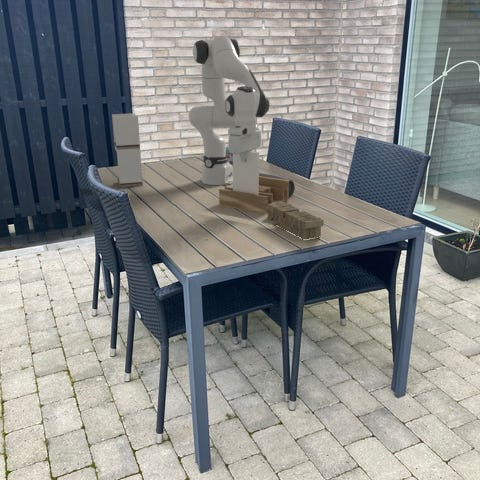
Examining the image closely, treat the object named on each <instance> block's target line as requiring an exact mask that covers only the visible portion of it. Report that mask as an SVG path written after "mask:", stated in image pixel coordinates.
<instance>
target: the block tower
mask: <svg viewBox="0 0 480 480" xmlns="http://www.w3.org/2000/svg"><path fill="white" fill-rule="evenodd" d="M267 218H268V219H269V220H272V221H273V222H274V224H275V225H278V226H279V227H281V228H283V229H285V230H287V231H289V232H291V233H293V234H295V235H296V236H299V237H301V238H302V239H309V238H314V237H319V236H321V233H322V232H321V231H322V227H324V224H325V223H324V222H325V221H324V219H322V217H321V218H320V217H318V216H315V215H313V214H311V213H309V212H307V211H305V210H302V211H300V208H299V207H295V206H294V205H292V204H291V203H289V202H288V203H285V202H284V201H277V202H272V204H268V213H267ZM275 225H274V226H275ZM279 227H278V228H279ZM281 228H280V229H281Z"/></svg>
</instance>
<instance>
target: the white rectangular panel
mask: <svg viewBox="0 0 480 480" xmlns="http://www.w3.org/2000/svg"><path fill="white" fill-rule="evenodd" d="M245 158H246V162H241V157H240V155H239V154H233V165H232V166H233V183H232V188H233V191H238V192H244V193H250V194H256V195H259V173H260V151H253V150H252V151H246V152H245Z"/></svg>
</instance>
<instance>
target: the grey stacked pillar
mask: <svg viewBox="0 0 480 480" xmlns="http://www.w3.org/2000/svg"><path fill="white" fill-rule="evenodd" d="M111 117H112V130H113V132H112V133H113V142H114V150H115V151H116V157H117V169H118V178H117V184H118V186H119V188H120V187H121V188H130V187H131V186H134V187H142V186H144V185H143V184H144V183H143V170H142V168H143V167H142V157H141V155H142V154H141V142H140V127H139V125H140V124H139V116H138V114H136V113H117V114H115V113H114V114H113V113H112V114H111ZM131 188H132V187H131Z"/></svg>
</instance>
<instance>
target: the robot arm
mask: <svg viewBox="0 0 480 480" xmlns="http://www.w3.org/2000/svg"><path fill="white" fill-rule="evenodd" d="M240 54H241V47H240V44H239V42H238V40H237V39H234V38H229V37H227V35H218V36H216V37H215V38H211V39H199V40H197V41H195V43H194V44H193V48H192V56H193V59H194V61H195V63H197V64H200V65H201V92H202V94H203V96H205V98H207V99H209V100H211V101H212V102H213V103H214V105H198V106H193V107H192V108H191V109H190V110H189V113H188V120H189V123H190V125H191V126H192V127H193V128H195V129H196V130H197V132H199V134H200V136H201V138H202V142H203V153H204V154H203V156H202V157H203V160H202V161H203V165H202V169H201V171H202V174H201V177H200V181H201V183H202V184H203V185H208V186H221V185H222V186H223V185H233V165H231V164H230V163H229V162H228V159H230V157H231V156H230V155H226V147H227V145H228V147H229V152H230V153H231V154H239V155H240V157H241V162H246V158H245V152H246V151H253V150H255V149H259V148H261V147H262V135H261V131H260V128H259V127H258V125H257V118H263V117H265V115H266V114H268V112H269V110H270V100H269V98H268V97H267V95H266V94H265V93H264V91H263V90H262V88H261V86H260V84H259V82H258V80H257V78H256V77H255V75H254V73H253V71H252V69H251V67H249V65H246V64H245V63H244V62H243V61H242V60H241V58H240ZM225 79H227V80H232V81H235V82H238V83H241V84H243V86H238V87H237V88H236V89H235V92H234V93H232V94H230V95H228V96H227V93H226V85H225ZM215 129H228V130H227V133H228V135H229V136H228V144H227V143H226V140H225V138H224V137H223V136H222V135H220V134H217V133H216V132H215ZM227 158H228V159H227Z"/></svg>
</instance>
